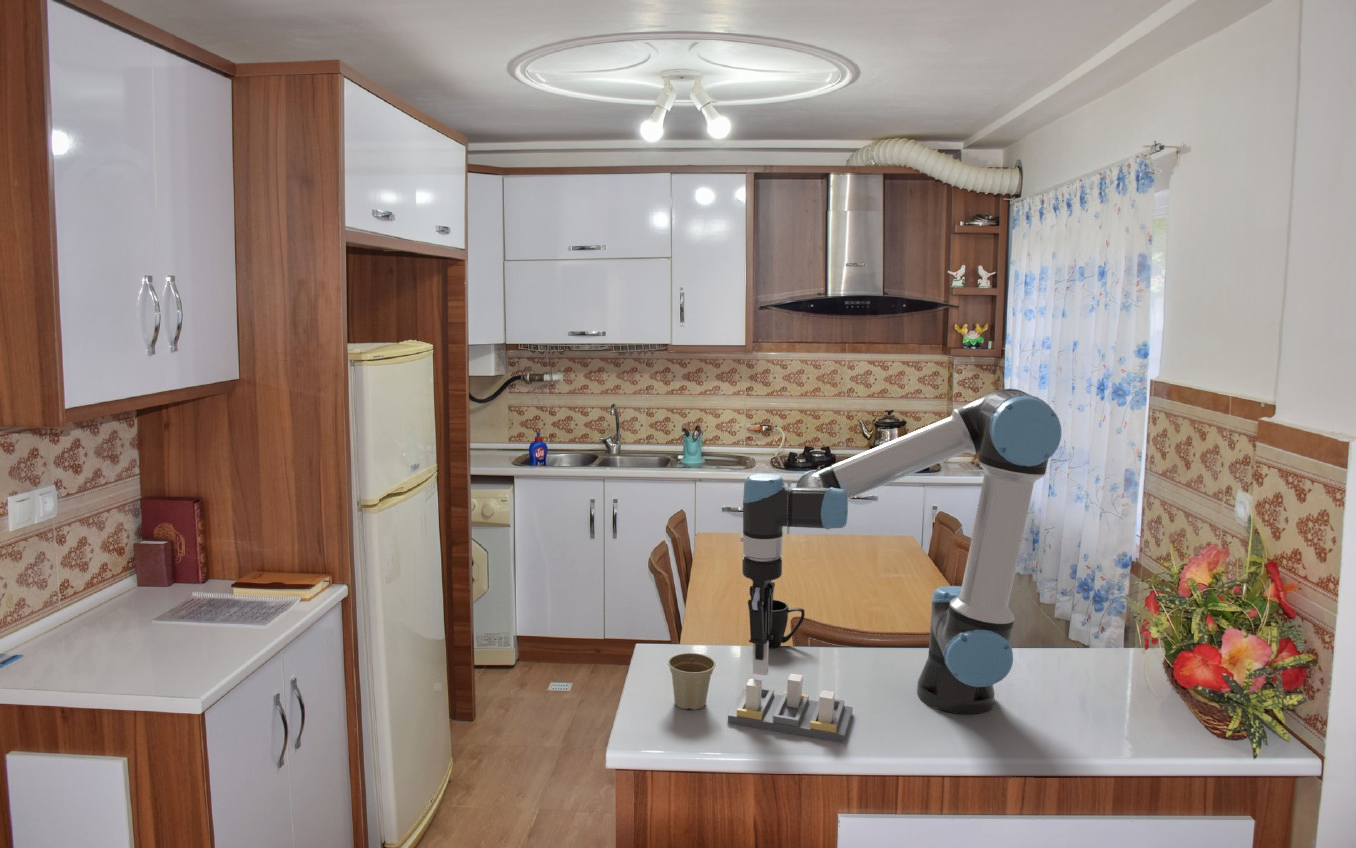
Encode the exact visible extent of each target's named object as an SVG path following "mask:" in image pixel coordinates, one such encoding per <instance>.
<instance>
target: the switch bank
mask: <svg viewBox="0 0 1356 848" xmlns="http://www.w3.org/2000/svg"><path fill="white" fill-rule="evenodd" d="M809 697H810V695H809V694H804V693H802V702H801V704H800V707H799V708H794V707H788V706H787V691H786V690H785V691H784V692H783V694H775V689H774V688H766V687H762V694H761V708H760V709H759V711H752V710H747V709H745V705H746V688H745V689H743V688H742V691H741V692H740V694H739V696H738V697H737V699H736V701H735V703H734V704H733V706H732V707H731V709H730V711H729V713H728V714H727V723H729V724H732V725H738V726H739V725H740V726H744V727H745V726H746V727H751V728H755V729H756V728H757V729H761V730H767V731H773V732H779V733H784V734H788V735H789V734H790V735H796V736H801V737H807V738H813V739H818V740H825V741H830V742H835V743H842V744H845V740H846V737H847V733H848V731H849V727H850V723H851V720H852V717H853V709H854V708H853V706H849V705H845V700H840V699H835V698H834V715H833V722H832V724H829V723H823V722H818V716H819V700H818V701H817V700H812V699H809Z"/></svg>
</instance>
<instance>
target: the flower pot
mask: <svg viewBox="0 0 1356 848" xmlns="http://www.w3.org/2000/svg"><path fill="white" fill-rule="evenodd" d="M667 665H668V667H669V669H670V673H671V677H672V678H671V679H672V688H673V689H672V690H673V701H674V704H675V706H677V707H678V708H679V709H682V710H688V709H690V710H693V711H695V710H699V709H702V708H704V707H705V706H706V704H707V698H708V691H709V685H710V681H711V677H712V674H713V671H714V670H715V668H716V665H717V664H716V661H715V660H714V659H713V658H712V657H710V656H708V655H705V654H701V653H697V652H696V653H694V652H685V653H684V652H683V653H678V654H676V655H675V654H674V655H673V656H671V657H670V658H668V660H667Z"/></svg>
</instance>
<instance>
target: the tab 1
mask: <svg viewBox="0 0 1356 848" xmlns="http://www.w3.org/2000/svg"><path fill="white" fill-rule="evenodd" d="M762 688H763V680H760V679H755V678H749V679H748V681H747V683H746V686H745V690H746V705H745V709H747V710H752V711H759V709H760V708H761V694H762Z"/></svg>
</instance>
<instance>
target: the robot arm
mask: <svg viewBox="0 0 1356 848" xmlns="http://www.w3.org/2000/svg"><path fill="white" fill-rule="evenodd" d="M1061 441H1062V426H1061V422H1060V418H1059V417H1058V415H1057V413H1056V412H1055V411H1054V410H1053V408H1052V407H1051V406H1050V404H1048V403H1047V402H1046V401H1044V400H1043V399H1042V398H1039V397H1037V396H1035V395H1032V394H1029V393H1027V392H1025V391H1023V390H1020V389H1016V388H1004V389H999V390H995V391H993V392H990V393H988V394H986V395H984V396H981V397H979V398H976V399H975V400H972V401H970V402H968V403H966V404H964V405H961V406H959V407H957V408H955V409H953V411H952V413H951V415H950V416H948V417H946V418H944V419H941V420H939V421H936V422H933V423H931V424H929V425H927V426H924V427H922V428H919V429H917V430H915V431H913V432H910V433H908V434H904V435H903V436H900V437H897V438H895V439H893V440H890V441H888V442H886V443H883V444H881V445H878V446H876V447H873V448H871V449H868V450H865V451H864V452H861V453H858V454H856V455H854V456H851V457H849V458H847V459H844V460H842V461H839V462H837V463H835V464H832V465H830V466H828V467H824V468H823V469H820V470H818V469H811V470H807V471H806V472H804V473H803V474H802V475H801V476H800V477H799V479H798V480H797V483H796V486H795V487H792V486H785V483H784V479H783V477H782V476H780V475H777V474H770V473H757V474H752V475H749V476H748V477H746V479H745V480H744V483H743V497H742V533H743V535H742V536H741V537H740V542H741V543H743V545H742V553H743V556H742V568H741V569H742V575H743V576H744V577H745V578H747V579H750V580H751V581H752V585H750V587H749V596H750V599H748V600H747V606H748V613H749V629H750V630H749V631H750V634H749V635H750V638H749V639H748V642H749V643H750V644H752V647H753V648H752V675H753V674H754V675H761V676H767V675H768V674H769V650H770V648H769V641H768V640H767V639H770V640H772V639H773V635H769V633H770V632H771V623H772V607H773V599H774V594H775V593H774V592H775V587H776V583H775V581H774V580H778V579H779V578H781V577H782V576H783V575H782V573H783V558H782V557H781V556H782V555H783V553H784V551H783V549H784V548H783V543H784V541H783V537H784V533H783V531H784V530H783V528H784V527H788V528H805V529H806V528H808V529H810V528H811V529H825V530H830V529H831V530H832V529H844V528H845V527H846V526H847V524H848V511H849V509H848V508H849V505H848V504H849V503H848V501H849V500H850V499H853V498H855V497H858V496H861V495H863V494H865V493H867V492H869V491H872V490H875V489H878V488H880V487H882V486H885V485H887V484H891V483H892V482H895V481H897V480H900V479H903V478H905V477H908V476H911V475H912V474H915V473H918V472H920V471H923V470H925V469H928V468H930V467H933V466H935V465H937V464H940V463H942V462H945V461H947V460H951V459H953V458H955V457H957V456H959V455H963V454H965V453H969V454H971V455H976V454H978V455H979V456H978V461H977V462H978V464H979V465H980V467H981V469H983V473H984V476H983V479H982V480H983V481H982V485H981V490H980V495H979V501H978V504H977V509H976V515H975V519H974V526H973V529H972V534H971V540H970V545H969V548H968V549H969V550H968V554H967V560H966V564H965V570H964V574H963V579H962V580H963V581H962V584H961V585H945V586H940V587H937V588H936V589H934V591H933V593H932V594H933V595H932V600H931V602H930V603H931V613H930V614H931V615H930V626H929V628H930V629H929V641H928V642H929V645H928V655H927V656H928V657H927V659H926V662H925V664H924V666H923V668H922V671H921V672H920V676H919V678H918V679H917V680H918V681H917V688H916V695H917V696H918V697H919V699H920V700H921V701H923V702H924V703H925V704H927V705H928V706H930V707H933V708H935V709H938V710H940V711H941V710H942V711H944V712H948V713H953V714H960V715H962V714H963V715H975V714H981V713H985V712H988V711H989V710H991V709H992V708H993V707H994V705H995V689H994V685H995V684H998V683H999V682H1001V681H1003V680H1004V679H1005V678H1007V676H1008V675H1009V673H1011V672H1010V671H1011V669H1012V667H1013V664H1014V663H1013V662H1014V655H1013V654H1014V653H1013V648H1012V645H1011V644H1010V640H1011V637H1012V632H1013V628H1014V621H1015V615H1014V614H1013V612H1012V610H1011V609H1010V607H1009V604H1010V597H1011V593H1012V589H1013V584H1014V579H1015V574H1016V569H1017V566H1018V559H1019V556H1020V551H1021V546H1022V541H1023V537H1024V533H1025V532H1024V531H1025V527H1026V523H1027V518H1028V514H1029V509H1030V504H1031V499H1032V495H1033V491H1034V490H1033V489H1034V485H1035V482H1037V481H1038V480H1040V479H1041V478H1043V477H1044V476H1046V473H1047V468H1048V467H1047V466H1048V462H1049V459H1050V458H1051V457H1052V456H1053V455H1054V454H1055V453H1056V451H1057V450H1058V448H1059V446H1060V442H1061Z"/></svg>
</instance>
